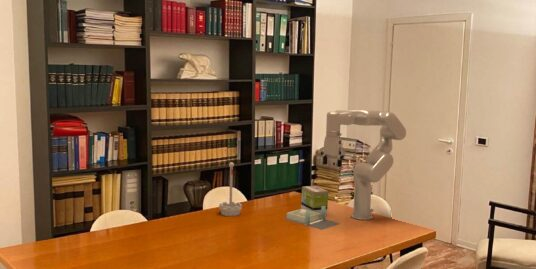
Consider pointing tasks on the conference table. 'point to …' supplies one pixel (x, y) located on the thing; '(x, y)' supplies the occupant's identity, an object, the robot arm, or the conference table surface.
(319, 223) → the mat
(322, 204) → the tea box
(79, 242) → the conference table surface
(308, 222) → the post near
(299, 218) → the tray
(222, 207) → the flag stand
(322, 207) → the post far
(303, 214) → the ball
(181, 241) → the conference table surface
